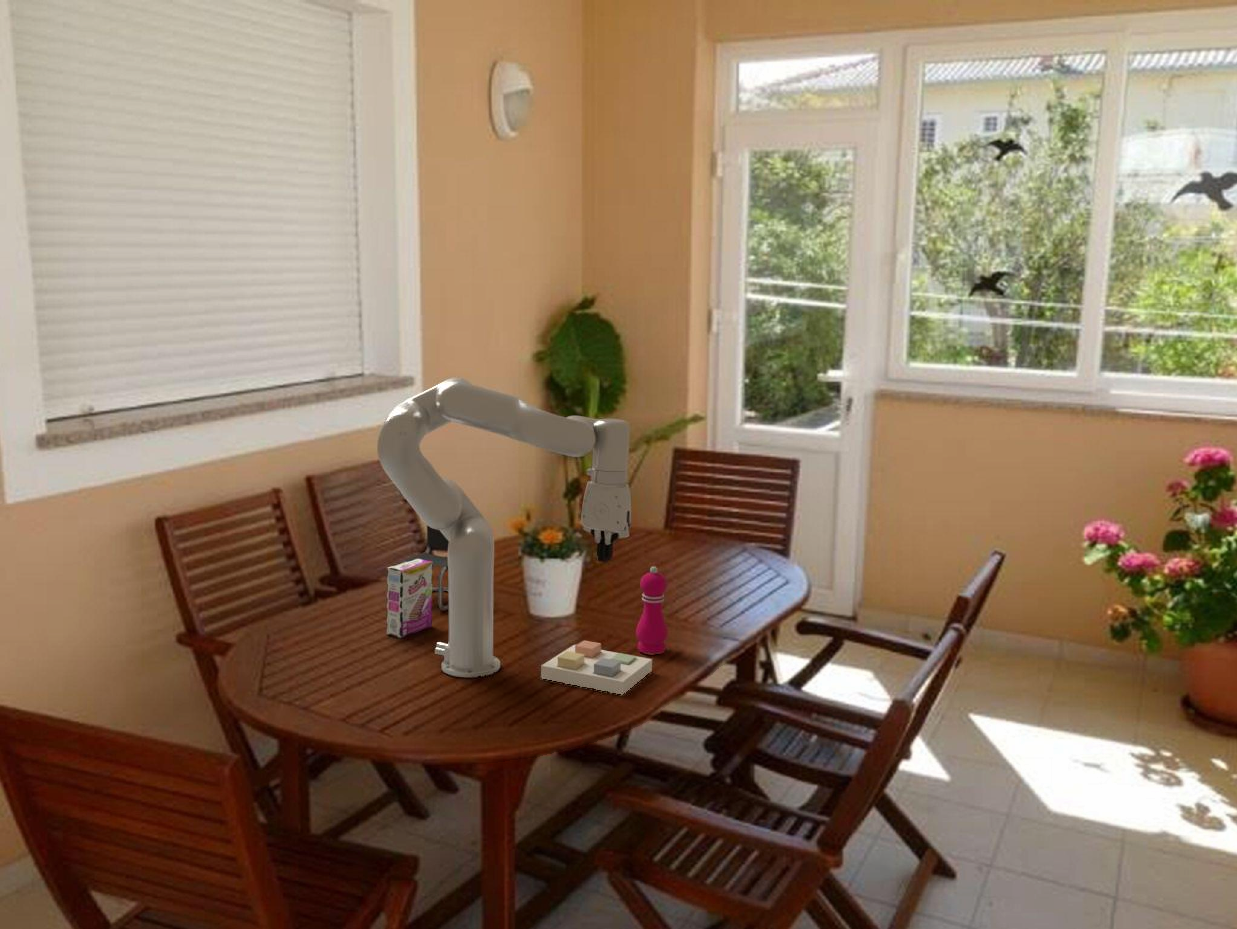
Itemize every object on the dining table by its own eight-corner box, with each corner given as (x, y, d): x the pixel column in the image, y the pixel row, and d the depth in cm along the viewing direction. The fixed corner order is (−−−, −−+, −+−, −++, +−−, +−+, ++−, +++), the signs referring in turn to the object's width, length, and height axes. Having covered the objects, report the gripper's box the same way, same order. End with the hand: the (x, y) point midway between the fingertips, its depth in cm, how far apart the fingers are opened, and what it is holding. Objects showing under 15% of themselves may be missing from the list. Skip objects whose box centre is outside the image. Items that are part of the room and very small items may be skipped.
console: (541, 679, 229) (541, 665, 228) (573, 657, 242) (574, 644, 242) (622, 695, 221) (622, 681, 220) (651, 672, 234) (652, 659, 234)
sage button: (610, 669, 232) (610, 658, 232) (618, 663, 236) (618, 652, 235) (627, 672, 230) (628, 662, 230) (635, 666, 234) (636, 656, 234)
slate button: (593, 675, 225) (593, 664, 224) (602, 668, 228) (602, 657, 228) (611, 678, 223) (612, 667, 223) (620, 672, 227) (620, 661, 226)
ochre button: (557, 667, 228) (557, 657, 228) (566, 661, 232) (567, 651, 232) (575, 671, 226) (575, 660, 226) (584, 665, 230) (584, 654, 230)
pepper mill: (640, 657, 243) (643, 571, 240) (631, 646, 250) (634, 563, 247) (671, 655, 245) (674, 569, 242) (661, 644, 252) (664, 561, 249)
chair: (477, 595, 287) (477, 514, 283) (441, 613, 271) (441, 527, 267) (435, 589, 292) (435, 509, 288) (397, 606, 276) (397, 522, 272)
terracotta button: (575, 656, 235) (575, 645, 235) (583, 650, 239) (583, 640, 239) (592, 659, 234) (592, 649, 233) (600, 653, 237) (601, 643, 237)
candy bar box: (402, 639, 251) (401, 570, 249) (386, 635, 254) (385, 567, 251) (433, 626, 261) (433, 560, 258) (418, 622, 263) (417, 557, 261)
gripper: (570, 474, 230) (565, 558, 233) (632, 484, 224) (627, 570, 227) (587, 470, 237) (582, 551, 240) (648, 479, 230) (642, 563, 233)
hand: (604, 560), depth 233 cm, fingers closed
